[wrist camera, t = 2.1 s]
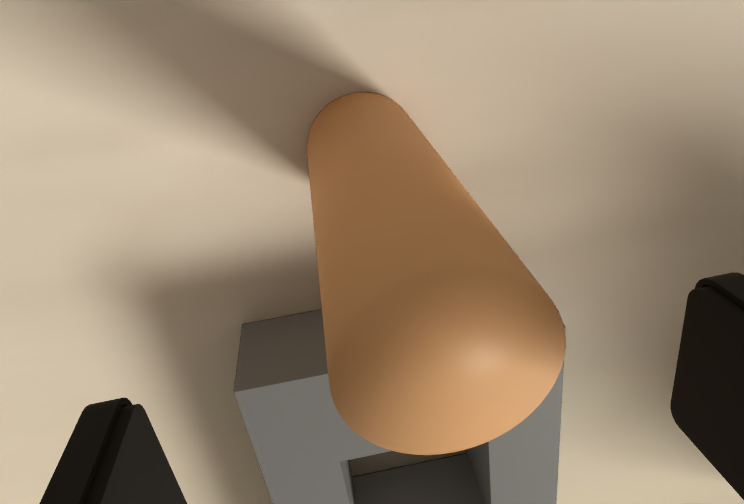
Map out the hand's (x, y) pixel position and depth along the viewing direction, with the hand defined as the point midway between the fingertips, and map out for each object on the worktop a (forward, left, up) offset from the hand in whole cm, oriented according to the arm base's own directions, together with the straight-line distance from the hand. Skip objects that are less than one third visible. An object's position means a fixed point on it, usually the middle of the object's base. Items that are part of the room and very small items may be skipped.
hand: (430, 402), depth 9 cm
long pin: (-1, 0, -12) cm, 12 cm away
